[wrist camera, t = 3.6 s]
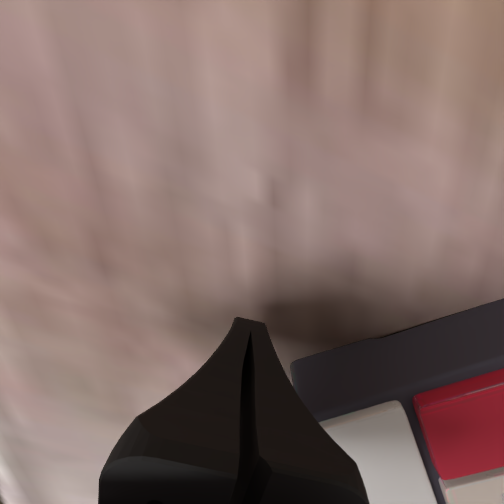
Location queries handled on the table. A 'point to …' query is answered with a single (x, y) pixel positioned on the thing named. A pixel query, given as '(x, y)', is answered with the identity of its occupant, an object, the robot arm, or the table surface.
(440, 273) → the table surface
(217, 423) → the robot arm
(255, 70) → the table surface
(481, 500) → the calculator
